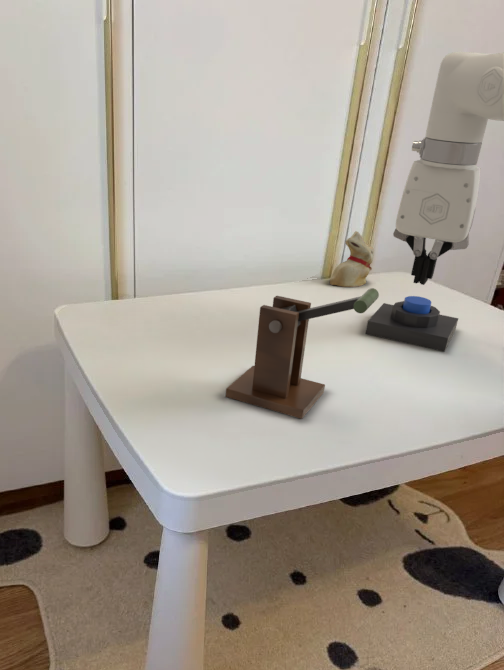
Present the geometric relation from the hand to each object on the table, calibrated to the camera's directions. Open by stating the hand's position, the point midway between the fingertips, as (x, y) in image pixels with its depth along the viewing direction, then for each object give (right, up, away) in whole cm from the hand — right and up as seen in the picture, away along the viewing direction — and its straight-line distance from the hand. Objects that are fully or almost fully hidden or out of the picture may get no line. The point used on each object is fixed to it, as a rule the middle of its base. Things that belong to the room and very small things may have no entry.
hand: (420, 281), depth 96 cm
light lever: (-19, -9, -25) cm, 33 cm away
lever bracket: (-24, -17, -18) cm, 35 cm away
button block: (0, -7, +4) cm, 8 cm away
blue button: (0, -4, +2) cm, 5 cm away
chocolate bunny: (-5, +4, +25) cm, 26 cm away
